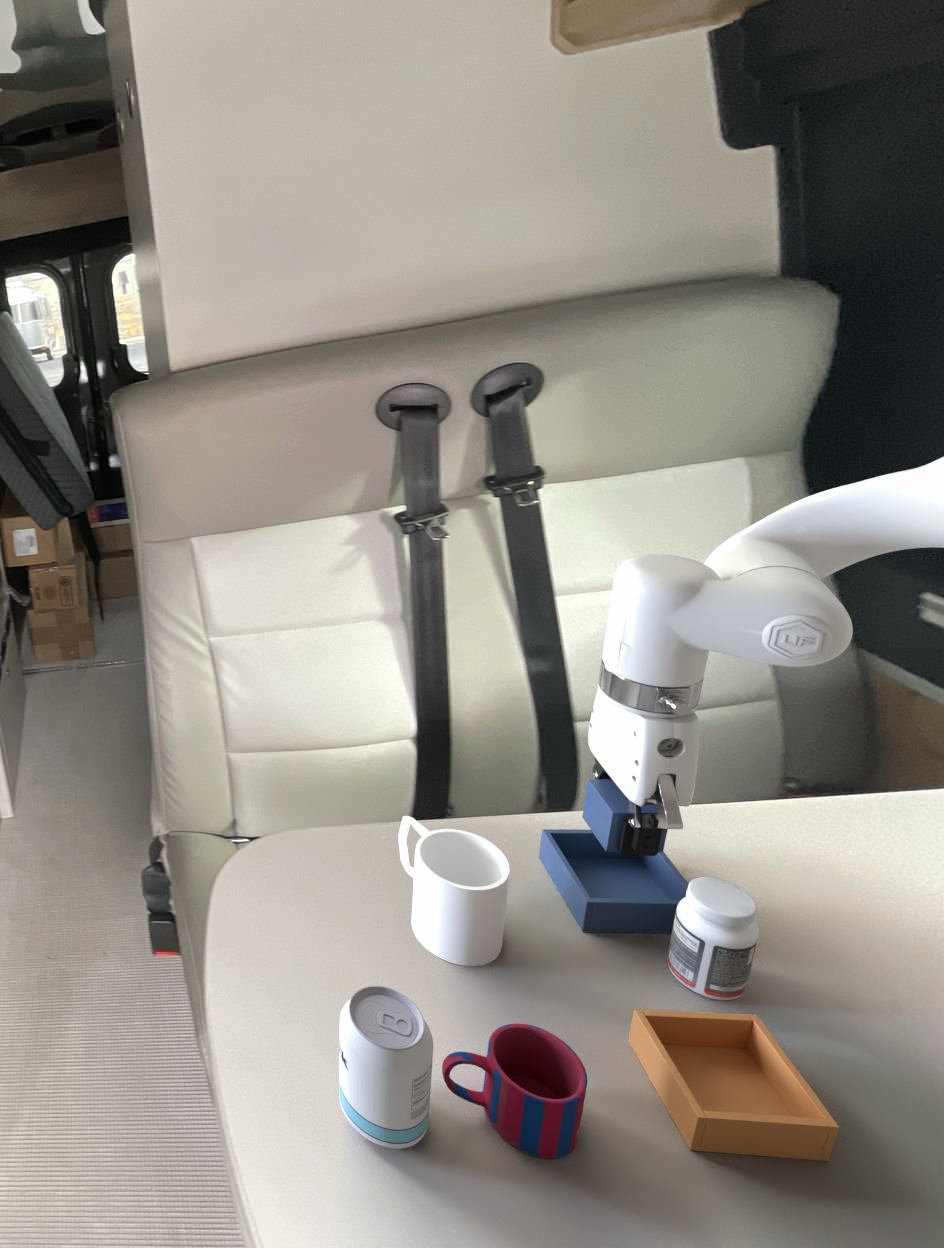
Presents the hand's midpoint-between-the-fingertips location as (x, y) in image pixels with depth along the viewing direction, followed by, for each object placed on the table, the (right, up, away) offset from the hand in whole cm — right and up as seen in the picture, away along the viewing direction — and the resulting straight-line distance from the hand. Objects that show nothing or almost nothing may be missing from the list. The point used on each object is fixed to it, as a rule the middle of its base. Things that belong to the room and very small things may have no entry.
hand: (622, 831), depth 85 cm
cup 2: (-21, -19, -15) cm, 32 cm away
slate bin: (+1, -8, +3) cm, 8 cm away
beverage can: (-31, -20, -13) cm, 39 cm away
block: (0, 0, 0) cm, 0 cm away
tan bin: (-4, -16, -16) cm, 23 cm away
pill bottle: (+3, -11, -7) cm, 13 cm away
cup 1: (-17, -11, +3) cm, 20 cm away
